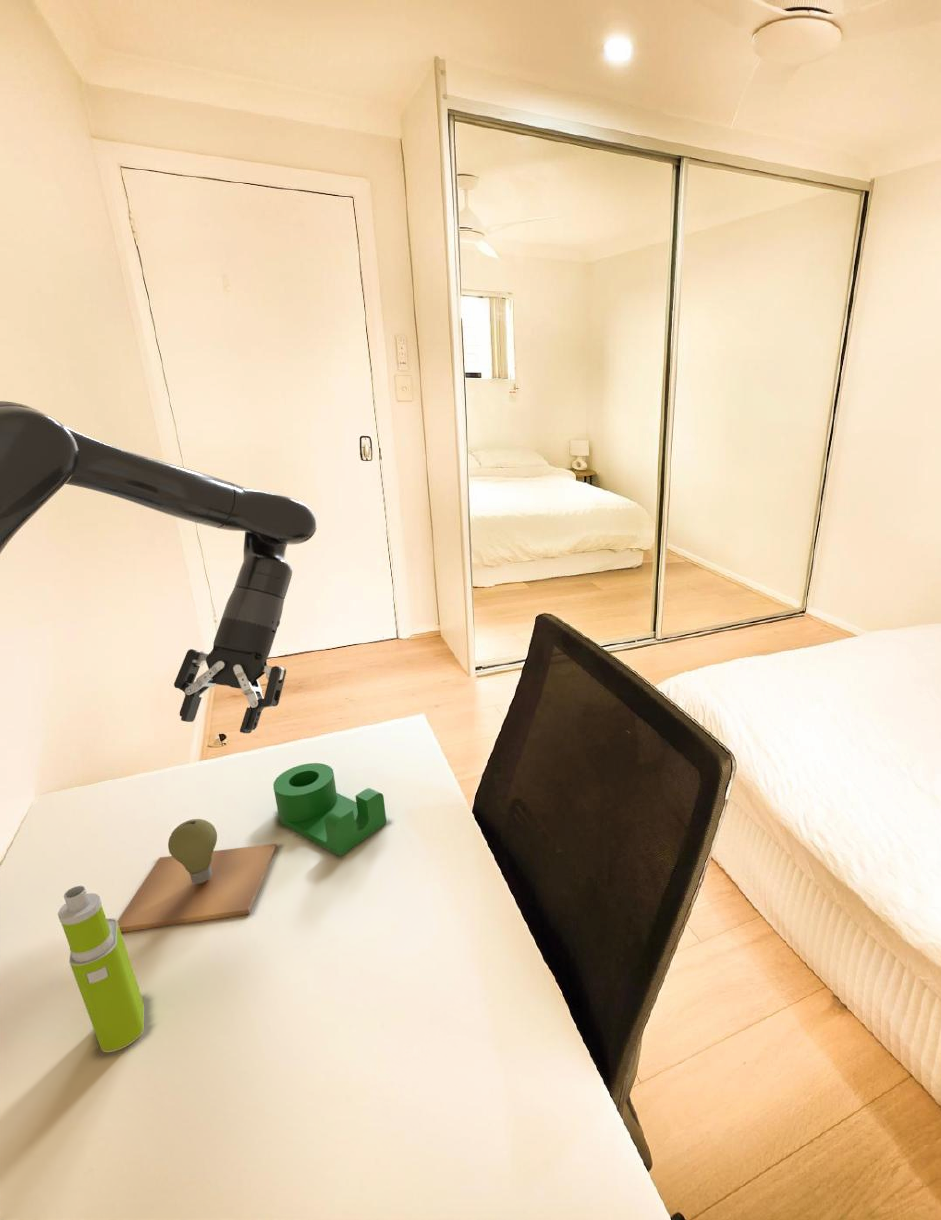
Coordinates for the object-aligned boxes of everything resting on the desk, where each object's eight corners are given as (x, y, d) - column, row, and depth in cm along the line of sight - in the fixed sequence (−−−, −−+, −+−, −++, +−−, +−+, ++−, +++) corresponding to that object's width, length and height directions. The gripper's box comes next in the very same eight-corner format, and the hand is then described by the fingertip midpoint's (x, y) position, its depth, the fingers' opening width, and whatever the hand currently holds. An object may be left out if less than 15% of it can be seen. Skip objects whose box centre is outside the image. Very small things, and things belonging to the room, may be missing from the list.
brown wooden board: (113, 933, 78) (112, 928, 78) (160, 861, 90) (159, 857, 90) (249, 914, 81) (248, 909, 81) (277, 847, 93) (276, 843, 93)
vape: (100, 1059, 63) (46, 914, 57) (103, 1014, 68) (54, 874, 61) (144, 1039, 65) (97, 896, 59) (144, 996, 70) (100, 859, 63)
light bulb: (220, 860, 89) (207, 805, 86) (230, 881, 86) (217, 824, 82) (175, 880, 86) (160, 822, 82) (184, 902, 82) (168, 843, 79)
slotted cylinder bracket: (267, 816, 100) (261, 784, 98) (315, 788, 107) (310, 757, 105) (340, 856, 92) (335, 821, 90) (386, 822, 99) (382, 790, 97)
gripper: (189, 607, 88) (150, 717, 84) (286, 627, 89) (252, 737, 85) (217, 616, 95) (182, 718, 92) (306, 634, 96) (276, 736, 93)
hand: (216, 727), depth 89 cm, fingers open, 8 cm apart
